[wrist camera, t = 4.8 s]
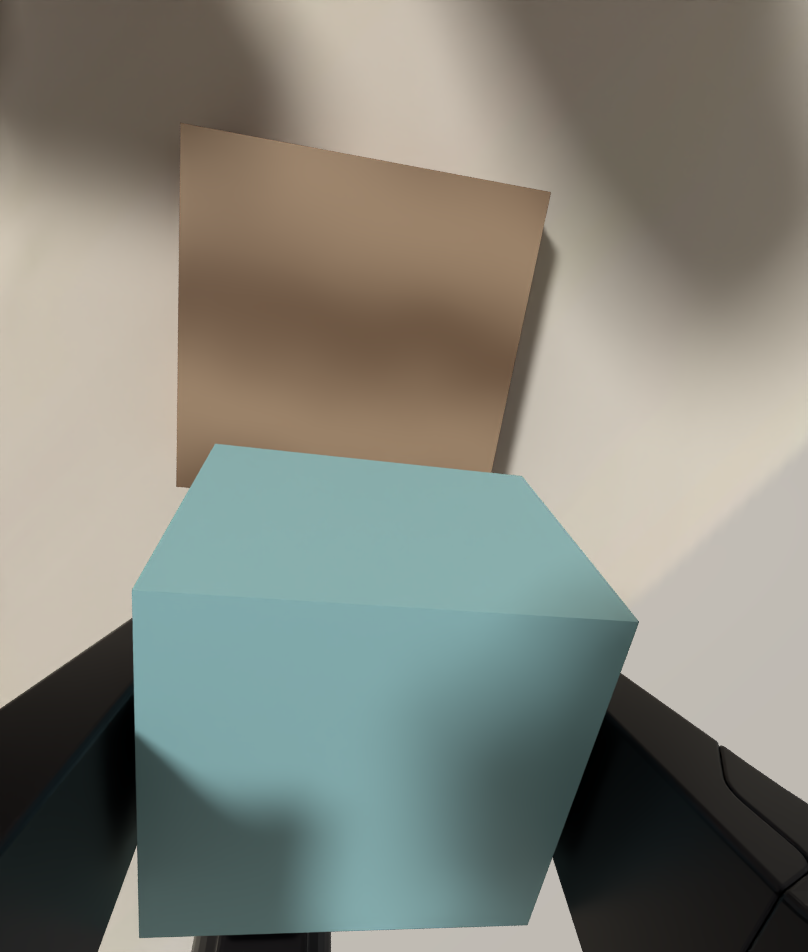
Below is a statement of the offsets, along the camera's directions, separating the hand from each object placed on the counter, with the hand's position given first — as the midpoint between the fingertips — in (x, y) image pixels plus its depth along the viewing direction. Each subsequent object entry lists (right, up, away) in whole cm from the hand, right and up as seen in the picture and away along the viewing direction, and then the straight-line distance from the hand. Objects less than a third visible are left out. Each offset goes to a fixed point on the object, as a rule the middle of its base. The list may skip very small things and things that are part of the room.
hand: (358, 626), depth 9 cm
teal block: (0, 0, +1) cm, 1 cm away
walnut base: (-1, +7, +10) cm, 12 cm away
